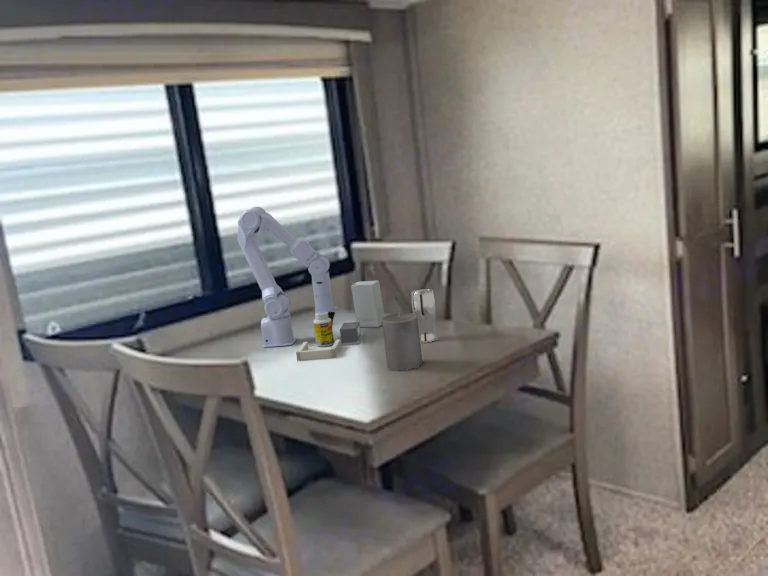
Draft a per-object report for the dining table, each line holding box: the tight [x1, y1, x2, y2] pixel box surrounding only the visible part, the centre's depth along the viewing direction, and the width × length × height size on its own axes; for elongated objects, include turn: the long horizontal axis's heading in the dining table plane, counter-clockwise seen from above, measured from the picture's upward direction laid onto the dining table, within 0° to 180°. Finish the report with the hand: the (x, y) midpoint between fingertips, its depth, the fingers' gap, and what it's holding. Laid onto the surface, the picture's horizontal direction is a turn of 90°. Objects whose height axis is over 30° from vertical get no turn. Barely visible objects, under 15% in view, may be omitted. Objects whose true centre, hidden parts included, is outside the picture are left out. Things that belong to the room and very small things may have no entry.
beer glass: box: [410, 288, 438, 344], centre depth 231 cm, size 7×7×15 cm
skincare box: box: [350, 280, 386, 328], centre depth 257 cm, size 8×6×15 cm
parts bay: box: [295, 338, 342, 361], centre depth 231 cm, size 11×11×2 cm
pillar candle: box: [381, 311, 423, 371], centre depth 209 cm, size 10×10×15 cm
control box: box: [339, 321, 364, 347], centre depth 241 cm, size 6×10×5 cm, turn 174°
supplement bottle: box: [313, 312, 335, 348], centre depth 240 cm, size 6×6×10 cm
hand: (328, 335), depth 246 cm, fingers closed
